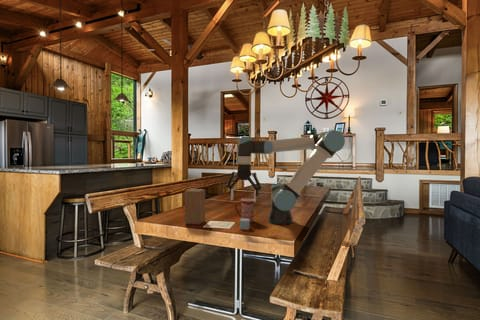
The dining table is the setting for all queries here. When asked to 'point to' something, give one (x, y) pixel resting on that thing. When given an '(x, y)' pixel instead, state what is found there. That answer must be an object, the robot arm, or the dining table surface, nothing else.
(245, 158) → the robot arm
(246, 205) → the mug
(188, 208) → the wooden block
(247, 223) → the cube
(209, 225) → the letter
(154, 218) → the dining table surface
